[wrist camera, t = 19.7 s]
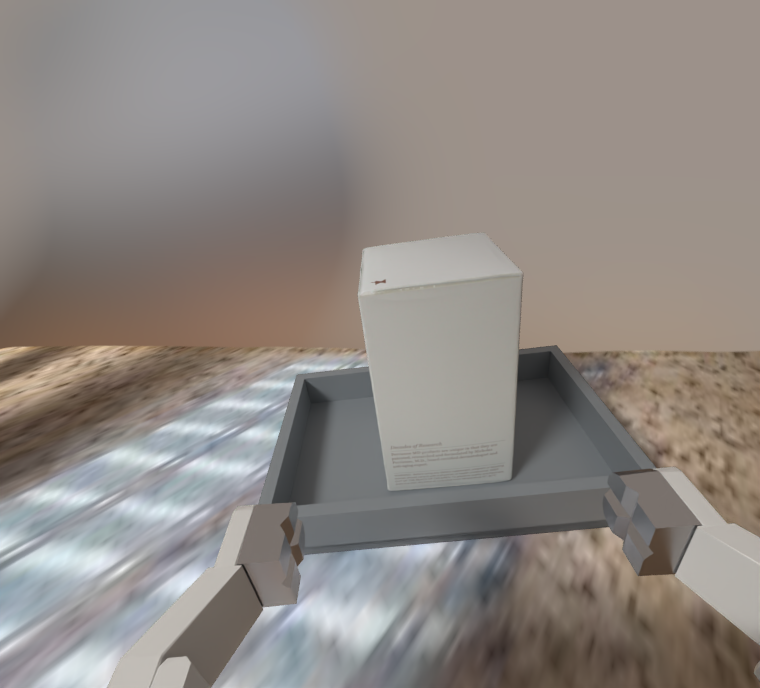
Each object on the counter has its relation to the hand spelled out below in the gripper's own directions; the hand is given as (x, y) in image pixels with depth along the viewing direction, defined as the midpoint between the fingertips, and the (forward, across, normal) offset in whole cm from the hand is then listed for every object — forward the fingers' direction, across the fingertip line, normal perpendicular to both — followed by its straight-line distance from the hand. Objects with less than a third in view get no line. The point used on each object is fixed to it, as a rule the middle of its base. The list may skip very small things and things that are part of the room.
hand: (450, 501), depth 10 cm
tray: (+12, -1, +11) cm, 16 cm away
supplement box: (+12, -1, +10) cm, 16 cm away
